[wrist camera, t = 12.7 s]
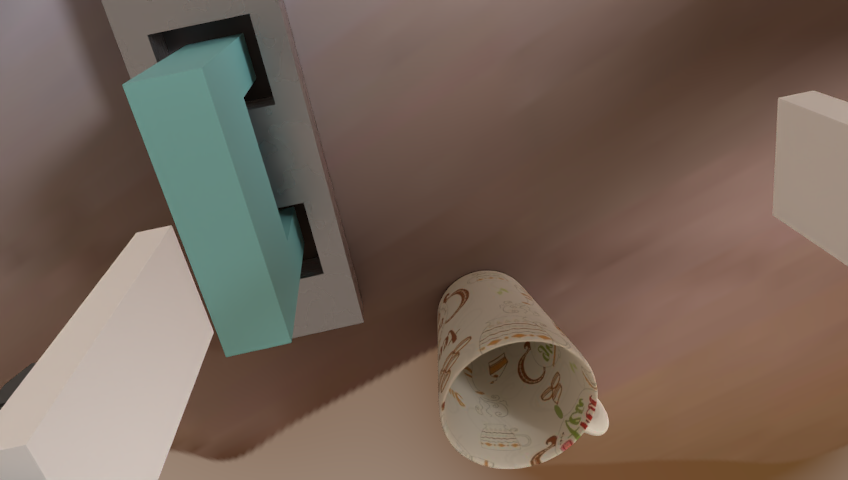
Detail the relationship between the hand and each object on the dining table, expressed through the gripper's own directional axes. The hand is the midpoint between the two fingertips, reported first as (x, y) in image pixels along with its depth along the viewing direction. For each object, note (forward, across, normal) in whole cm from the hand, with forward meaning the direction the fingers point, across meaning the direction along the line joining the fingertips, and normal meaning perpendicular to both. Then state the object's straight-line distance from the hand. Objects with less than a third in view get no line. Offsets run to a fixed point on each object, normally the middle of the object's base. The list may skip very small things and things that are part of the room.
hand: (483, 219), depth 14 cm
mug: (+24, +3, -19) cm, 30 cm away
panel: (+23, -10, -4) cm, 26 cm away
